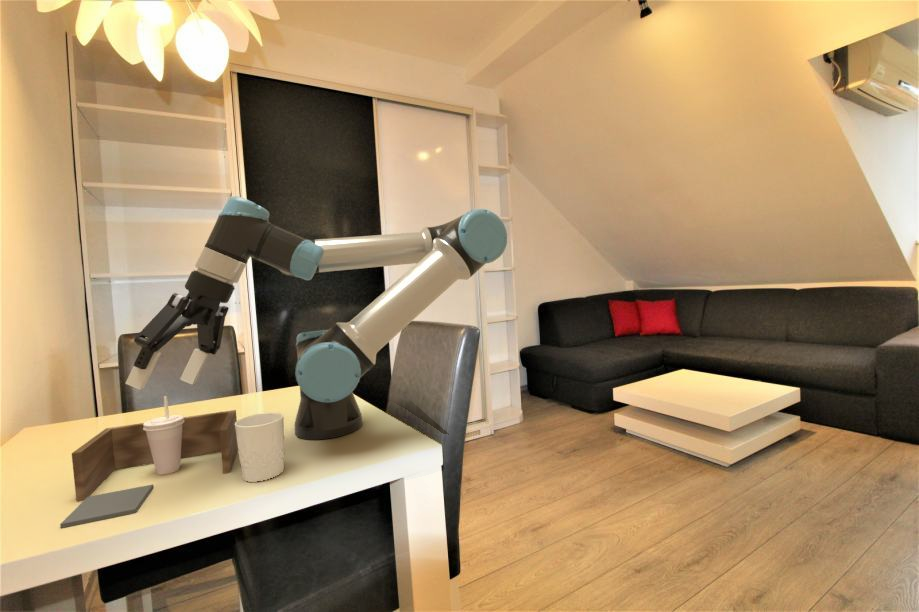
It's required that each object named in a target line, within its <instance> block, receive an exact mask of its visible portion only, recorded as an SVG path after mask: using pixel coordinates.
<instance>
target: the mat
mask: <svg viewBox="0 0 919 612" xmlns="http://www.w3.org/2000/svg"><path fill="white" fill-rule="evenodd" d="M153 489H154V484H148V485H144V486H138V487H132V488H126V489H121V490H116V491H110V492H105V493H100V494H94V495H90V496H89V497H87V498H86V499H85V500H82V502H81V503H80V504H79V505H78V506H77V507H75V509H74V510H72V511H71V513H70V514H69V515H68V516H67V517H65V518H64V520H63V521H62V522H61V523H60V525H59V528H60V529H64V528H68V527H73V526H74V527H75V526H77V525H78V526H79V525H82V524H87V523H93V522H97V521H102V520H107V519H113V518H116V517H122V516H127V515H131V514H136V513H137V512H138V510H139V509H140V508H141V506H142V504H144V502H145V500H146V499H147V498H148V496H149V495H150V493H151V492H152V490H153Z"/></svg>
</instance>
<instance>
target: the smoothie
mask: <svg viewBox="0 0 919 612" xmlns="http://www.w3.org/2000/svg"><path fill="white" fill-rule="evenodd" d="M163 405H164V407H163V408H164V416H160V417H157V418H155V417H154V418H151V419H149V420H148V421H145V422H143V423H144V424H143V427H144V428H143V430H145V431H146V433H147V438H148V442H149V445H150V449H151V453H152V457H153V461H154V463H153V465H154V469H155V472H156V475H159V476H163V475H164V474H165V475H168V474H172V473H174V472H177V471H179V470H180V468H181V460H182V458H181V443H182V424H183V423H184V422H185V421H184V417H185V416H184V415H180V414H174V415H170V414H169V403H168V396H167V395H165V396H163Z"/></svg>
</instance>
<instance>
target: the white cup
mask: <svg viewBox="0 0 919 612" xmlns="http://www.w3.org/2000/svg"><path fill="white" fill-rule="evenodd" d="M284 418H285V417H284V414H283V413H280V412H263V413H257V414H256V413H255V414H252V415H248V416H245V417H242V418H240V419H237V421H236V422H235V431H236V438H237V446H238V451H237V453H238V455H239V457H238V459H239V464H240V465H241V467H240V469H241V476H242V479H243V481H244V482H247V481H248V482H249V483H258V482H257V481H261V482H264V481H263V480H265V481H268V480H267V479H269V480H271V479H270V478H272V479H274V478H276V477H278V476H277V475H279V474H280V473H281V472H282V473H283V472H284V469H285V463H284V462H285V461H284V458H285V429H284V428H285V425H284V424H285V423H284V421H285V419H284ZM282 473H281V474H282ZM281 474H280V475H281ZM280 475H279V476H280ZM275 476H276V477H275ZM273 477H274V478H273Z"/></svg>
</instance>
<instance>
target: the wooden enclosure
mask: <svg viewBox="0 0 919 612" xmlns="http://www.w3.org/2000/svg"><path fill="white" fill-rule="evenodd" d="M184 421H185V422H184V423H183V424H182V443H181V459H186V458H191V457H192V456H193V457H198V456H204V455H210V454H215V453H214V452H216V453H221V466H222V474H227V473H231V472H232V471H231V470H232V468H233V465H234V462H235V460H236V456H237V453H238V446H237V438H236V431H235V422H236V421H238V419H237V410H236V409H232V410H225V411H219V412H213V413H211V412H210V413H206V414H205V413H204V414H196V415H190V416H184ZM144 423H145V422H143V423H142V422H141V423H134V424H125V425H119V426H113V427H107V428H105V429H103V430H102V431H100V432H99V433H98V434H96V435H95V436H94V437H92V438H91V439H89V440H88V441H87V442H85V443H84V444H82V445H81V446H80V447H78V448H77V449H76V450H74V451H73V452H72V453H71V462H72V470H73V471H72V472H73V480H74V481H73V483H74V490H75V501H76V502H81V501H84V500H85V499H86V498H87V497H89V496H92V494H93V493H94V492H95V491H96V490H97V489H98V488H99V487H100V486H101V485H102V484H103V483H104V482H105V481H106V480H107V479H108V478H109V477H110V476H111V475H112V474H113V473H114V472H113V471H114V470H115V469H117V470H121V469H127V468H128V467H129V468H133V467H132V466H135V467H139V466H138V465H140V466H144V465H143V464H146V465H151V464H150V463H152V464H154V461H153V457H152V453H151V449H150V445H149V442H148V438H147V433H146V431H145V430H143V428H144V427H143V424H144ZM209 453H210V454H209ZM203 454H204V455H203ZM197 455H198V456H197ZM193 457H192V458H193ZM129 468H128V469H129ZM115 471H116V470H115ZM112 472H113V473H112ZM111 473H112V474H111ZM110 474H111V475H110ZM109 475H110V476H109ZM108 476H109V477H108ZM107 477H108V478H107ZM106 478H107V479H106ZM105 479H106V480H105ZM104 480H105V481H104ZM103 481H104V482H103ZM102 482H103V483H102ZM101 483H102V484H101ZM100 484H101V485H100ZM99 485H100V486H99ZM98 486H99V487H98ZM97 487H98V488H97ZM96 488H97V489H96ZM95 489H96V490H95ZM94 490H95V491H94Z"/></svg>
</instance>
